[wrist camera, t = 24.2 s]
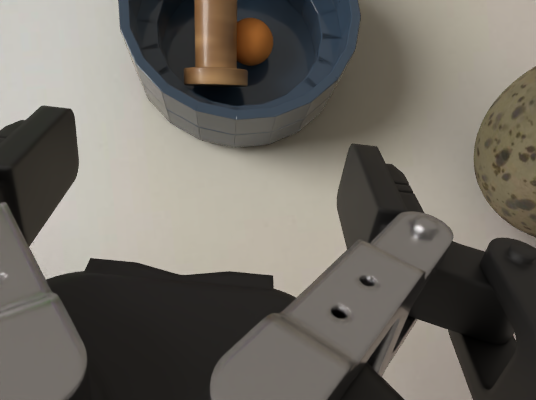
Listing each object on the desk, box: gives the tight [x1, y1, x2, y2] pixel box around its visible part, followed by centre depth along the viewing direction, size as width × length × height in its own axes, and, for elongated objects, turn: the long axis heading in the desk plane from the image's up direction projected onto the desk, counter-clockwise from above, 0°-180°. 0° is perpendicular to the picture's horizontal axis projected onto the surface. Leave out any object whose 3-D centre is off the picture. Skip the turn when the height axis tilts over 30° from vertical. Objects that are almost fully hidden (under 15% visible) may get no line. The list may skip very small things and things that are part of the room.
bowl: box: [118, 0, 361, 147], centre depth 30 cm, size 14×14×6 cm
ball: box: [237, 18, 273, 66], centre depth 30 cm, size 3×3×3 cm
